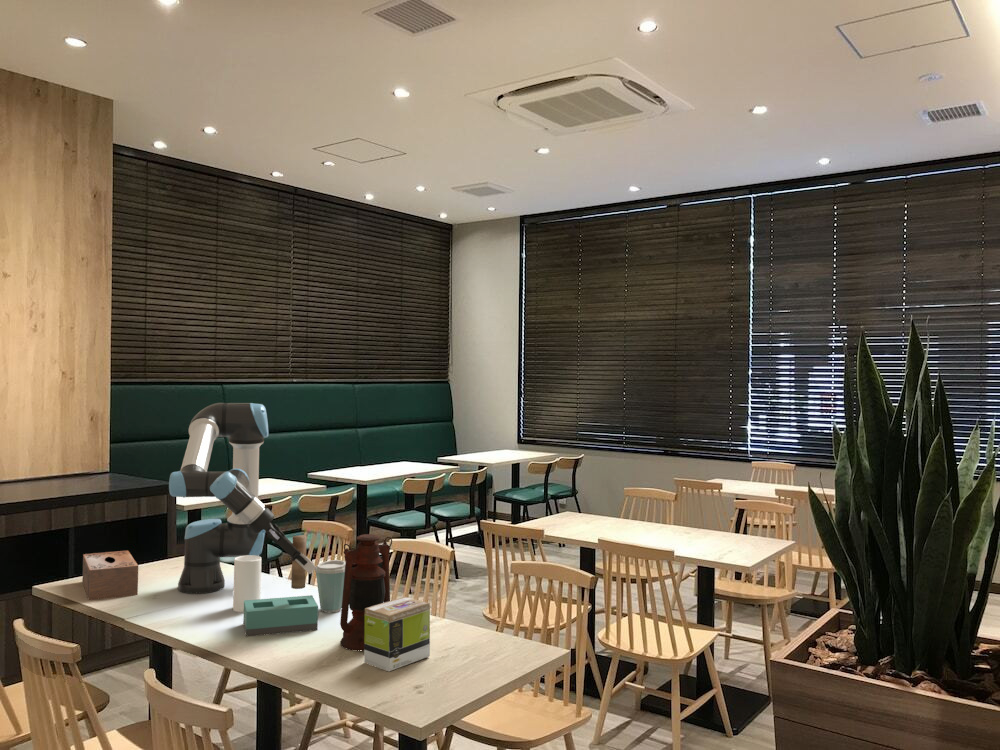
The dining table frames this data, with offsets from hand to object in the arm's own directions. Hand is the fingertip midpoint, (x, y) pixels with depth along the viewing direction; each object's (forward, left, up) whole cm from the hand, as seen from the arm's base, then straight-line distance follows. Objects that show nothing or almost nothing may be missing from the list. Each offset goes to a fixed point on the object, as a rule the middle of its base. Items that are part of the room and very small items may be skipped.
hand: (311, 568), depth 235 cm
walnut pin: (0, -4, -5) cm, 6 cm away
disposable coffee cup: (-13, +8, -17) cm, 23 cm away
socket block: (0, -9, -17) cm, 19 cm away
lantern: (+21, +12, -17) cm, 29 cm away
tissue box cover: (-60, -59, -17) cm, 86 cm away
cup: (-22, -17, -17) cm, 33 cm away
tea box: (+37, +17, -17) cm, 44 cm away
